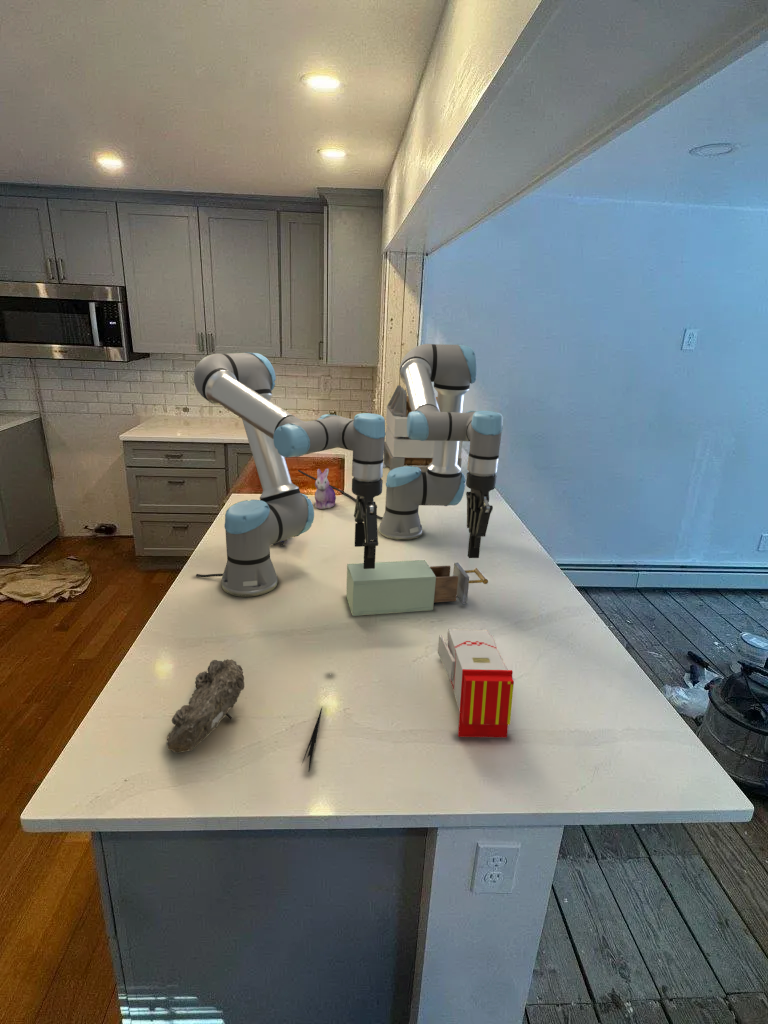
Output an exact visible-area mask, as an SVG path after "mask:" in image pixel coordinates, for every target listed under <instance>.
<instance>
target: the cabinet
mask: <svg viewBox="0 0 768 1024" xmlns="http://www.w3.org/2000/svg"><path fill="white" fill-rule="evenodd" d="M363 567H364V562H359V563H347V565H346V595H345V596H346V601H347V604H348V606H349V610H350V612H351V615H352V617H355V616H356V617H358V616H359V617H360V616H373V615H385V614H387V615H388V614H399V613H400V614H401V613H413V612H427V611H429V612H430V611H434V603H435V602H434V594H435V582H436V576H435V574H434V573H433V571H432V570H431V568H430V567H431V566H430V565H429V564H428V562H427V561H426V559H421V560H420V559H418V560H417V559H416V560H398V561H380V562H379V561H378V562H377V561H375V569H364V568H363Z"/></svg>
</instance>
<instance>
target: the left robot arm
mask: <svg viewBox="0 0 768 1024" xmlns="http://www.w3.org/2000/svg"><path fill="white" fill-rule="evenodd" d="M276 377H277V376H276V372H275V369H274V366H273V365H272V363H271V361H270V360H269V359H268V358H267V356H264V355H263V354H261V353H258V352H251V351H250V352H249V351H245V352H231V353H212V354H209V355H206V356H204V357H203V358H202V359H201V360H199V362H198V363H197V365H196V367H194V372H193V382H194V383H193V384H194V386H195V389H196V391H197V392H198V393H199V395H200V396H201V397H202V398H203V399H205V400H206V401H208V402H209V403H210V404H212V405H214V406H222V407H223V408H225V409H226V410H228V411H230V412H231V413H232V414H234V415H236V416H237V417H238V418H240V419H241V420H242V424H243V428H244V431H245V434H246V437H247V441H248V444H249V448H250V452H251V455H252V459H253V461H254V464H255V469H256V472H257V475H258V478H259V482H260V485H261V489H262V492H261V494H260V496H259V499H250V500H248V499H245V500H242V501H238V502H236V503H234V504H232V505H231V506H229V507H228V508H227V509H226V511H225V515H224V524H223V525H224V530H225V546H226V563H225V567H224V570H223V573H209V574H201V573H196V575H195V576H196V577H198V578H214V577H221V589H222V590H223V591H224V592H225V593H227V594H228V595H232V596H236V597H242V598H243V597H244V598H245V597H246V598H249V597H250V598H251V597H259V596H262V595H266V594H268V593H270V592H272V591H273V590H274V589H275V588H276V587H277V586H278V573H277V572H276V569H275V567H274V566H275V565H274V564H273V562H272V559H271V546H272V545H273V544H274V543H275V544H277V543H281V542H280V541H283V540H286V539H287V540H289V539H291V538H295V537H299V536H300V535H302V534H305V533H306V532H308V531H309V530H310V529H311V527H312V525H313V523H314V520H315V509H314V505H313V502H312V500H311V499H310V498H309V497H308V496H307V495H306V494H304V493H301V490H300V487H299V486H298V485H296V484H294V483H293V482H292V478H291V475H290V470H289V467H288V465H287V461H286V458H299V457H302V456H306V455H310V454H314V453H319V452H323V451H329V450H332V449H343V450H346V451H352V460H351V462H352V463H351V476H352V478H351V493H352V494H353V495H355V496H356V498H355V499H356V501H355V506H354V513H353V517H354V522H355V523H354V547H356V548H357V547H358V548H359V547H360V548H361V547H363V563H364V567H363V568H364V569H375V563H376V551H377V546H379V536H378V535H379V534H378V533H379V530H378V518H377V515H378V514H377V513H378V505H377V504H376V501H374V499H375V498H376V497H378V496H380V495H382V493H383V482H384V481H383V479H382V478H383V474H384V469H386V466H385V465H384V464H383V463H384V443H385V442H386V441H385V438H386V418H385V417H384V416H383V415H381V414H377V413H371V412H362V413H357V414H355V416H353V418H348V417H344V416H340V415H337V414H327V413H326V414H322V415H320V417H318V418H317V419H313V420H308V421H305V420H302V419H300V418H298V417H297V416H295V415H293V414H292V413H290V412H289V411H287V410H285V409H284V408H282V407H281V406H279V405H278V404H276V403H274V402H273V401H271V400H272V398H273V393H272V392H273V390H274V389H275V386H276V382H275V381H276V380H277V378H276ZM287 540H286V541H287Z"/></svg>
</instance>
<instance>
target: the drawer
mask: <svg viewBox="0 0 768 1024" xmlns="http://www.w3.org/2000/svg"><path fill="white" fill-rule="evenodd" d="M429 567H430V568H431V570H432V571H433V573H434V574H435V576H436V582H435V594H434V603H447V602H456V601H457V598H458V599H459V601H460V603H461V604H467V603H468V594H469V587H470V584H481V583H482V584H483V585H488V583H489V580H488V578H487V577H486V576H485V575H484V574H483V572H482V571H481V570H480V569H479V568H478V567H475V568H474V569H464V568H463V566H462V565H461V564H460V563H459V562H453V570H452V571H453V572H452V575H451V565H435V566H434V565H433V566H429ZM472 573H474V574H475V576H477V577H478V579H472V580H471V579H470V576H469V574H472Z"/></svg>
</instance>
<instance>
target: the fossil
mask: <svg viewBox="0 0 768 1024" xmlns="http://www.w3.org/2000/svg"><path fill="white" fill-rule="evenodd" d="M243 670H244V669H243V667H242V665H240V664H237V662H236V661H235V660H234V659H232V658H231V659H227V658H226V659H224V660H223V661H222V660H217V659H212V660H211V661H210V663H209V665H208V666H207V671H201V672H199V673H198V674H197V675H196V676H195V680H194V684H195V685H194V687H195V689H194V690H193V693H192V694H191V697H190V698H189V700H188V704H184V705H182V706H181V707H180V709H177V710H176V711H175V713H174V715H173V716H172V718H171V723H172V724H173V727H172V730H171V731H170V732H168V734H167V738H166V741H167V742H166V745H167V749H168V750H169V751H173V752H174V753H176V754H178V753H182V752H188V751H189V752H192V751H193V750H195V748H196V747H197V746H199V744H200V743H201V742H203V741H204V740H205V739H206V738H207V737H208V736H209V735H210V734H211V733H212V732H214V730H215V729H217V727H218V726H219V724H220V722H221V721H222V720H223V719H224V718H225V716H226V717H227V719H229V720H233V717H232V715H230V714H229V710H230V709H231V708H234V706H235V704H236V703H237V702H238V699H239V697H240V695H241V693H242V691H243V690H245V689H244V688H245V675H244V671H243Z"/></svg>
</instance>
